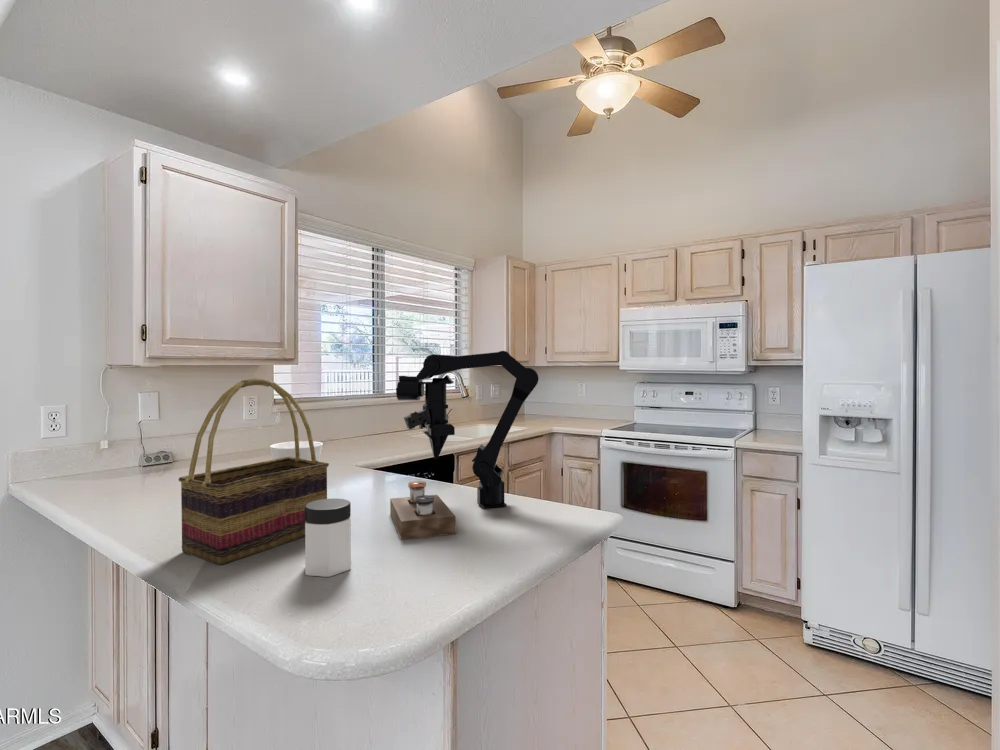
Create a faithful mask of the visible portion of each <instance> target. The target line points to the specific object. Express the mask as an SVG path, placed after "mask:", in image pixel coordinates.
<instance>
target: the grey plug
mask: <svg viewBox="0 0 1000 750" xmlns="http://www.w3.org/2000/svg"><path fill="white" fill-rule="evenodd" d="M430 495H431V494H430ZM430 495H429V494H425V495H422V496H417V497H415V502H416V503H417V516H423V515H433V502H434V496H430Z"/></svg>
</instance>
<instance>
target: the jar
mask: <svg viewBox="0 0 1000 750" xmlns="http://www.w3.org/2000/svg"><path fill="white" fill-rule="evenodd" d="M351 514H352V513H351V501H350V500H348V499H345V498H335V497H333V498H327V499H322V500H316V501H312V502H310V503H308V504H306V505H305V510H304V516H305V536H304V543H305V544H304V546H305V547H304V549H305V551H304V552H305V553H304V555H305V556H304V559H305V560H304V561H305V562H304V565H305V567H304V569H305V571H304V573H305V575H306V576H311V577H312V576H313V577H321V578H322V577H324V578H329V577H333V576H335V575H338V574H341V573H344V572H347V571H349V570H351V569H352V546H351V545H352V544H351V543H352V539H351V537H352V535H351V534H352V533H351V531H352V530H351V529H352V528H351V527H352V523H351V521H352V520H351V516H352V515H351Z"/></svg>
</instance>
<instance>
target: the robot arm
mask: <svg viewBox="0 0 1000 750" xmlns="http://www.w3.org/2000/svg"><path fill="white" fill-rule="evenodd" d="M495 366H501V367H502V368H504V369H505V370H506V371H507V372H508V373H509V374H511V376H513V377H514V378H515V382H514V384H513V385H514V386H513V389H512V393H511V395H510V399H509V400H508V403H507V405H506V407H505V409H504V411H503V412H502V414H501V417H500V418H499V421H498V423H497V424H496V427H495V428H494V431H493V433H492V434H491V437H490V439H489V440H488V442H487V443H486V445H483V444H480V445H479V446H478V448H477V450H476V451H477V452H476V454H475V456H474V457H473V458H472V459H471V462H473V464H472V472H473V474H474V475H475V476H476V477H477V478H478V479H479V482H478V487H477V490H476V491H477V494H476V495H477V498H476V500H477V501H476V502H477V504H478V505H480V507H482V508H483V509H489V508H490V509H491V508H501V507H507V506H508V505H507V503H505V481H504V480H502V478H503V475H504V470H503V469H501V467H500V466H499V465H497V462H498V458H499V456H500V453H501V448H502V446H503V444H504V441H505V440H506V438H507V436H508V434H509V432H510V430H511V428H512V426H513V424H514V422H515V420H516V418H517V415H518V414H519V412H520V410H521V408H522V406H523V404H524V402H526V400H527V398H528V397H529V396H530V395H531V393H532V391H534V389H535V388H536V386H537V385H538V384H539V374H538V372H537V371H536V370H535V369H533V368H532V367H525V366H524V365H523V364H522V363H521V362H519V360H517V359H516V358H514V357H513V356H512V355H511V354H510V353H509V352H508V351H506V350H499V351H496V352H487V353H486V352H485V353H478V354H467V355H465V354H464V355H448V354H447V355H446V354H436V353H435V354H430V355H427V356H426V357H425V358H424V360H423V366H422V367H421V369H420V371H419V372H418V374H417V375H415V376H414V375H413V376H412V375H398V380H397V384H396V385H397V386H396V388H395V394H396V399H397V400H398V401H420V400H421V398H423V397H424V403H423V405H422V409H421V410H418V411H414V412H410V414H408V415H405V416H403V419H404V420H403V421H404V422H405V425H406V427H407V429H408V430H412V429H415V428H416V427H418V429H420V430H421V429H422V430H423V428H425V430H423V431H422V433H423V434H424V435H425V436H426V437H428V438H429V439H428V440H429V443H430V448H431V451H432V455H433V459H439V457H440V455H441V452H442V451H443V447H444V445H445V443H446V441H447V439H448V436H455V435H456V434H455V426H454V425H453V424H452V423H450V422H449V420H448V419H447V409H449V405H448V404H447V385H452V384H454V383H455V382H454V380H452V379H451V378H450V376H449V375H448V374H449V373H452V372H456V371H459V370H466V369H476V368H486V367H495ZM446 374H447V375H446ZM442 375H445V376H444V377H438V376H442ZM436 376H437V377H436ZM432 377H433V378H432ZM429 379H432V380H431V381H423V380H429Z"/></svg>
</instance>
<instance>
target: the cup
mask: <svg viewBox="0 0 1000 750" xmlns="http://www.w3.org/2000/svg"><path fill="white" fill-rule="evenodd" d="M313 444H314V449H315V456H316V460H318V461H319V462H320V459H321V454H322V450H323V446H324V445H323V444H324V443H323V442H321V441H315V440H313ZM269 449H270V450H269V451H270V453H271V454H270V455H271V458H272V459H271V460H274V459H279V458H284V457H295V456H296V455H295V440H294V441H285V442H284V441H283V442H277V443H273V444H271V445H269ZM299 453H300V458H301V459H306V460H311V451H310V446H309V441H308V440H299Z"/></svg>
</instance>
